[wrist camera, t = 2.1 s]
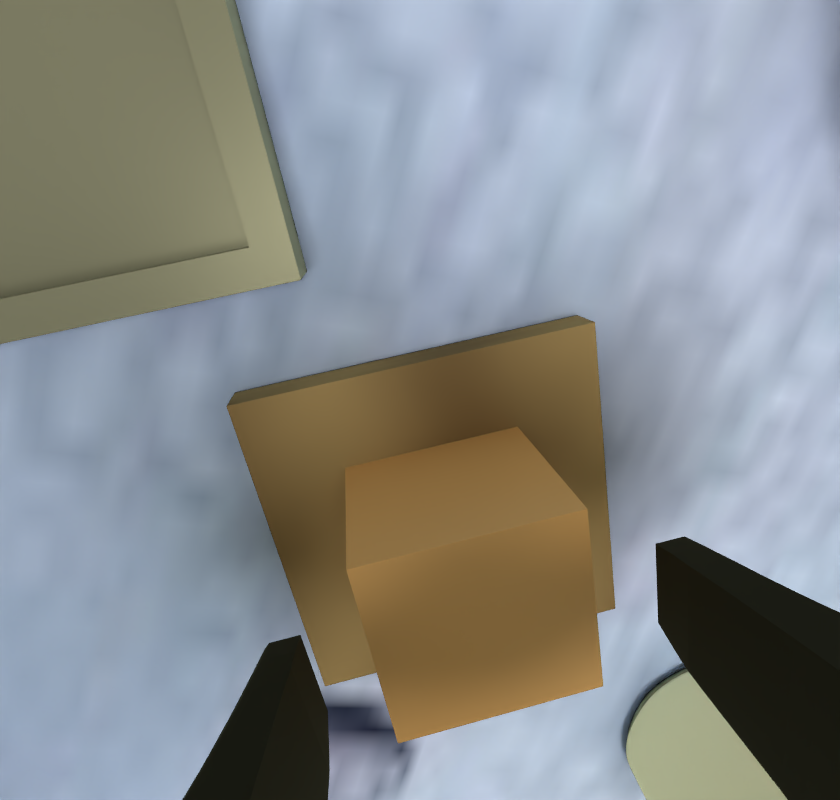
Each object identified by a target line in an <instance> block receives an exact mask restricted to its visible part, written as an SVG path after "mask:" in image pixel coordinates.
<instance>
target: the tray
mask: <svg viewBox="0 0 840 800" xmlns="http://www.w3.org/2000/svg"><path fill="white" fill-rule="evenodd" d="M306 272H307V269H306V266H305V262H304V258H303V254H302V250H301V247H300V243H299V239H298V235H297V232H296V228H295V224H294V220H293V217H292V213H291V209H290V205H289V201H288V198H287V194H286V190H285V186H284V183H283V179H282V175H281V171H280V167H279V164H278V160H277V156H276V152H275V149H274V145H273V141H272V137H271V134H270V130H269V126H268V122H267V118H266V115H265V111H264V107H263V103H262V100H261V96H260V92H259V88H258V85H257V81H256V77H255V73H254V69H253V66H252V62H251V58H250V54H249V51H248V47H247V43H246V39H245V36H244V32H243V28H242V24H241V20H240V17H239V13H238V9H237V5H236V2H235V0H0V344H2V343H7V342H12V341H16V340H21V339H26V338H30V337H35V336H40V335H44V334H49V333H54V332H59V331H63V330H68V329H73V328H77V327H82V326H87V325H91V324H96V323H101V322H106V321H110V320H115V319H120V318H124V317H129V316H134V315H138V314H143V313H148V312H152V311H157V310H162V309H167V308H171V307H176V306H181V305H185V304H190V303H195V302H199V301H204V300H209V299H214V298H218V297H223V296H228V295H232V294H237V293H242V292H246V291H251V290H256V289H260V288H265V287H270V286H275V285H279V284H284V283H289V282H293V281H298V280H301V279H302V278H303V276H304V275H305V273H306Z"/></svg>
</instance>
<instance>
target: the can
mask: <svg viewBox="0 0 840 800" xmlns="http://www.w3.org/2000/svg"><path fill="white" fill-rule="evenodd" d="M626 755H627V760H628V763H629V765H630V768H631V770H632V772H633V774H634V776H635V778H636V780H637V782H638V784H639V786H640V788H641V790H642V792H643V794H644V796H645V798H646V800H787V798H786V797H785V796H784V794H783V793H782V792H781V790H780V789H779V788H778V786H777V785H776V784H775V782H774V781H773V780H772V779H771V777H770V776H769V775H768V774H767V772H766V771H765V770H764V768H763V767H762V766H761V765H760V763H759V762H758V761H757V759H756V758H755V757H754V756H753V754H752V753H751V752H750V751H749V749H748V748H747V747H746V745H745V744H744V743H743V742H742V740H741V739H740V738H739V736H738V735H737V734H736V733H735V731H734V730H733V729H732V728H731V726H730V725H729V724H728V722H727V721H726V720H725V719H724V717H723V716H722V715H721V713H720V712H719V711H718V710H717V708H716V707H715V706H714V704H713V703H712V702H711V701H710V699H709V698H708V697H707V695H706V694H705V693H704V691H703V690H702V689H701V688H700V686H699V685H698V684H697V682H696V681H695V680H694V678H693V677H692V676H691V674H690V673H689V672H688V670H687V669H686V668H685V669H683V670H681V671H679V672H677V673H675V674H673V675H672V676H670V677H668V678H667V679H665V680H664V681H663V682H661V683H660V684H658V685H657V686H656V687H655V688H653V689H652V690H651V691H650V692H649V693H648V694H647V696H646V697H645V698H644V699H643V701H642V702H641V704H640V705H639V707H638V708H637V710H636V712H635V714H634V716H633V719H632V721H631V724H630V727H629V731H628V738H627V744H626Z"/></svg>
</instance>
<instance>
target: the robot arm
mask: <svg viewBox="0 0 840 800" xmlns="http://www.w3.org/2000/svg"><path fill="white" fill-rule="evenodd" d="M656 569H657V599H658V623H659V625H660V626H661V628H662V630H663V631H664V633H665V635H666V636H667V638H668V640H669V641H670V643H671V645H672V646H673V648H674V650H675V651H676V653H677V654H678V656H679V658H680V659H681V661H682V662H683V664H684V665H685V667H686V669H687V670H688V672H689V673H690V674H691V676H692V677H693V678H694V680H695V681H696V682H697V684H698V685H699V686H700V688H701V689H702V690H703V691H704V693H705V694H706V695H707V697H708V698H709V699H710V701H711V702H712V703H713V704H714V706H715V707H716V708H717V710H718V711H719V712H720V713H721V715H722V716H723V717H724V719H725V720H726V721H727V722H728V724H729V725H730V726H731V728H732V729H733V730H734V731H735V733H736V734H737V735H738V736H739V738H740V739H741V740H742V742H743V743H744V744H745V745H746V747H747V748H748V749H749V751H750V752H751V753H752V754H753V756H754V757H755V758H756V759H757V761H758V762H759V763H760V765H761V766H762V767H763V768H764V770H765V771H766V772H767V774H768V775H769V776H770V777H771V779H772V780H773V781H774V782H775V784H776V785H777V786H778V788H779V789H780V790H781V792H782V793H783V794H784V796H785V797H786V798H787V800H840V613H839V612H837V611H835V610H833V609H831V608H829V607H826V606H824V605H822V604H820V603H818V602H816V601H814V600H811V599H809V598H807V597H805V596H803V595H801V594H799V593H797V592H795V591H793V590H791V589H789V588H787V587H785V586H783V585H780V584H778V583H776V582H774V581H772V580H770V579H768V578H766V577H764V576H762V575H760V574H758V573H756V572H755V571H753V570H751V569H749V568H747V567H745V566H743V565H741V564H739V563H737V562H735V561H733V560H731V559H729V558H727V557H725V556H723V555H721V554H719V553H717V552H715V551H713V550H711V549H709V548H707V547H705V546H703V545H701V544H699V543H697V542H695V541H693V540H691V539H689V538H687V537H681V538H677V539H673V540H669V541H665V542H661V543H657V544H656ZM329 771H330V770H329V734H328V711H327V708H326V705H325V702H324V699H323V697H322V694H321V691H320V688H319V685H318V683H317V680H316V677H315V674H314V672H313V669H312V666H311V663H310V660H309V658H308V655H307V652H306V649H305V646H304V644H303V641H302V638H301V635H299V636H295V637H291V638H287V639H283V640H279V641H275V642H271V643H269V644H268V645H267V647H266V648H265V650H264V652H263V654H262V656H261V658H260V660H259V662H258V664H257V666H256V668H255V670H254V672H253V674H252V675H251V677H250V679H249V681H248V683H247V685H246V687H245V689H244V691H243V693H242V695H241V697H240V699H239V701H238V703H237V704H236V706H235V708H234V710H233V712H232V714H231V716H230V718H229V720H228V721H227V723H226V725H225V727H224V729H223V730H222V732H221V734H220V736H219V738H218V739H217V741H216V743H215V745H214V747H213V749H212V750H211V752H210V754H209V756H208V758H207V759H206V761H205V763H204V765H203V766H202V768H201V770H200V771H199V773H198V775H197V776H196V778H195V780H194V781H193V783H192V785H191V786H190V788H189V790H188V791H187V793H186V795H185V796H184V798H183V800H328V787H329Z"/></svg>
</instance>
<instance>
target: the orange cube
mask: <svg viewBox="0 0 840 800" xmlns="http://www.w3.org/2000/svg"><path fill="white" fill-rule="evenodd" d="M345 501H346V571H347V574H348V578H349V581H350V584H351V588H352V591H353V594H354V598H355V601H356V604H357V608H358V611H359V614H360V618H361V621H362V625H363V628H364V631H365V635H366V638H367V641H368V645H369V648H370V651H371V655H372V658H373V661H374V665H375V668H376V671H377V675H378V678H379V681H380V685H381V688H382V691H383V695H384V698H385V701H386V705H387V708H388V711H389V715H390V718H391V721H392V725H393V728H394V731H395V735H396V738H397V741H398V743H401V742H405V741H408V740H412V739H415V738H419V737H423V736H426V735H430V734H433V733H437V732H441V731H444V730H448V729H451V728H455V727H458V726H462V725H466V724H469V723H473V722H476V721H480V720H484V719H487V718H491V717H494V716H498V715H502V714H505V713H509V712H512V711H516V710H519V709H523V708H527V707H530V706H534V705H537V704H541V703H545V702H548V701H552V700H555V699H559V698H562V697H566V696H570V695H573V694H577V693H580V692H584V691H588V690H591V689H595V688H598V687H602V686H603V678H602V667H601V656H600V644H599V633H598V622H597V610H596V599H595V588H594V576H593V565H592V554H591V542H590V531H589V520H588V509H587V508H586V506H585V505H584V504H583V503H582V502H581V501H580V499H579V498H578V497H577V496H576V495H575V493H574V492H573V491H572V490H571V489H570V488H569V486H568V485H567V484H566V483H565V482H564V481H563V479H562V478H561V477H560V476H559V475H558V473H557V472H556V471H555V470H554V469H553V468H552V466H551V465H550V464H549V463H548V462H547V461H546V459H545V458H544V457H543V456H542V455H541V454H540V452H539V451H538V450H537V449H536V448H535V446H534V445H533V444H532V443H531V442H530V441H529V439H528V438H527V437H526V436H525V435H524V434H523V432H522V431H521V430H520V429H519V428H518V427H514V428H510V429H505V430H501V431H497V432H493V433H489V434H485V435H480V436H476V437H472V438H468V439H464V440H460V441H455V442H451V443H447V444H443V445H439V446H435V447H430V448H426V449H422V450H418V451H414V452H410V453H405V454H401V455H397V456H393V457H389V458H384V459H380V460H376V461H372V462H368V463H364V464H359V465H355V466H351V467H347V468H345Z"/></svg>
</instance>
